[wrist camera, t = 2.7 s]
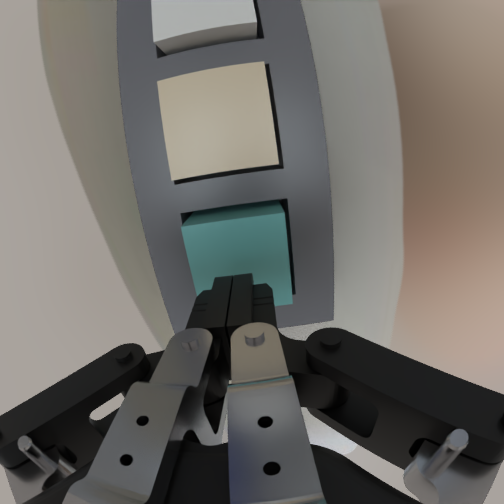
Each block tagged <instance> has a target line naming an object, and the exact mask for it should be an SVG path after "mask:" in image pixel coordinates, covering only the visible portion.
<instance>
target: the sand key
mask: <svg viewBox="0 0 504 504" xmlns="http://www.w3.org/2000/svg"><path fill="white" fill-rule="evenodd" d="M157 85H158V94H159V102H160V110H161V117H162V124H163V131H164V138H165V144H166V151H167V157H168V163H169V168H170V174H171V180H172V181H173V180H178V179H183V178H188V177H194V176H199V175H205V174H211V173H217V172H224V171H230V170H237V169H244V168H252V167H259V166H267V165H276V164H279V161H278V153H277V145H276V138H275V130H274V123H273V116H272V109H271V102H270V96H269V89H268V83H267V76H266V70H265V64H264V61H263V62H253V63H245V64H237V65H230V66H224V67H218V68H212V69H207V70H202V71H197V72H192V73H188V74H184V75H179V76H175V77H171V78H168V79H164V80H160V81H157Z"/></svg>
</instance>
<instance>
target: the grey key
mask: <svg viewBox="0 0 504 504" xmlns="http://www.w3.org/2000/svg"><path fill="white" fill-rule="evenodd" d="M151 8H152V28H153V42H154V43H155V44H156V45H157V46H158V47H159V48H160V49H161V50H162V51H163V52H164V53H165V54H166V55H167V56H168V55H171V54H175V53H179V52H183V51H188V50H192V49H197V48H202V47H207V46H212V45H218V44H224V43H230V42H237V41H245V40H254V39H256V36H257V19H256V14H255V9H254V4H253V0H151Z"/></svg>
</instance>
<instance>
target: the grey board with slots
mask: <svg viewBox="0 0 504 504" xmlns="http://www.w3.org/2000/svg"><path fill="white" fill-rule="evenodd" d="M253 4H254V9H255V14H256V19H257V36H256V39H254V40H245V41H237V42H230V43H224V44H218V45H212V46H207V47H202V48H197V49H192V50H188V51H183V52H179V53H175V54H171V55H168V56H167V55H166V54H165V53H164V52H163V51H162V50H161V49H160V48H159V47H158V46H157V45H156V44H155V43H154V42H153V28H152V8H151V0H117V53H118V71H119V84H120V95H121V105H122V114H123V122H124V129H125V136H126V143H127V149H128V156H129V161H130V167H131V173H132V178H133V183H134V188H135V193H136V198H137V203H138V207H139V212H140V216H141V220H142V225H143V229H144V233H145V237H146V241H147V245H148V248H149V252H150V256H151V260H152V263H153V267H154V270H155V274H156V277H157V281H158V284H159V287H160V290H161V294H162V297H163V300H164V303H165V306H166V309H167V312H168V315H169V318H170V321H171V324H172V327H173V330H174V333H175V334H177V333H178V332H180V331H183V330H185V328H186V325H187V322H188V319H189V317H190V314H191V312H192V308H193V306H194V302H195V299H196V297H197V294H196V290H195V286H194V282H193V278H192V274H191V270H190V266H189V261H188V257H187V253H186V248H185V244H184V239H183V235H182V230H181V226H182V225H183V224H184V223H185V221H186V220H187V219H188V218H189V217H190V216H191V214H192V213H193V212H194V211H197V210H204V209H210V208H217V207H224V206H231V205H238V204H245V203H253V202H260V201H268V200H277V199H278V200H279V202H280V204H281V206H282V208H283V211H284V213H285V222H286V232H287V242H288V253H289V264H290V275H291V287H292V300H293V304H288V305H281V306H275V313H276V321H277V328H283V327H291V326H298V325H305V324H312V323H319V322H325V321H331V320H334V249H333V223H332V205H331V190H330V177H329V166H328V156H327V146H326V138H325V129H324V122H323V114H322V107H321V100H320V94H319V88H318V82H317V76H316V70H315V65H314V59H313V54H312V49H311V44H310V40H309V35H308V31H307V26H306V22H305V18H304V14H303V9H302V6H301V2H300V0H253ZM263 61H264V64H265V70H266V76H267V83H268V89H269V96H270V102H271V109H272V116H273V123H274V130H275V138H276V145H277V153H278V161H279V164H276V165H267V166H259V167H252V168H244V169H237V170H230V171H224V172H217V173H211V174H205V175H199V176H194V177H188V178H183V179H178V180H173V181H172V180H171V174H170V168H169V163H168V157H167V151H166V144H165V138H164V131H163V124H162V117H161V110H160V102H159V94H158V85H157V81H160V80H164V79H168V78H171V77H175V76H179V75H184V74H188V73H192V72H197V71H202V70H207V69H212V68H218V67H224V66H230V65H237V64H245V63H253V62H263Z"/></svg>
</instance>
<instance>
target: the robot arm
mask: <svg viewBox="0 0 504 504" xmlns="http://www.w3.org/2000/svg"><path fill="white" fill-rule="evenodd" d="M229 380H232V384H229ZM119 393H122V395H123V396H124V398H125V399H124V401H123V402H122V404H121V406H120V407H119V408H118V409H116V410H115V411H113V412H112V413H110V414H109V415H107V416H106V417H104V418H103V419H101V420H97V421H96V420H92V419H91V418H90V417H89V416H90V414H91V412H92V411H93V410H95V409H96V408H98V407H99V406H101V405H103V404H104V403H106V402H107V401H109V400H110V399H112V398H113V397H115V396H116V395H118V394H119ZM301 407H307V409H308V411H309V412H310V414H312V415H313V416H314V417H316V418H317V419H319V420H320V421H322V422H323V423H325V424H326V425H328V426H329V427H331V428H333V429H334V430H336V431H337V432H339V433H340V434H342V435H344V436H345V437H347V438H348V439H350V440H352V441H353V442H355V443H357V444H358V445H360V446H362V447H364V448H365V449H367V450H369V451H370V452H372V453H374V454H376V455H377V456H379V457H381V458H383V459H385V460H386V461H388V462H390V463H392V464H394V465H396V466H398V467H400V468H402V469H404V470H405V471H404V477H403V479H404V484H405V486H406V488H407V489H408V490H409V491H410V492H411V493H413V494H414V495H415V496H416V497H417V498H418V499H419V500H420V502H419V501H417V500H415V499H413V498H411V497H409V496H408V495H406V494H404V493H402V492H400V491H399V490H397V489H395V488H393V487H392V486H390V485H388V484H387V483H385V482H383V481H382V480H380V479H378V478H377V477H375V476H374V475H372V474H370V473H369V472H367V471H366V470H364V469H362V468H361V467H360V466H358V465H356V464H355V463H353V462H352V461H351V460H349V459H348V458H346V457H345V456H343V455H341V454H339V453H337V452H335V451H333V450H330V449H328V448H325V447H322V446H318V445H313V444H310V442H309V438H308V434H307V430H306V426H305V422H304V419H303V415H302V411H301ZM227 410H228V442H227V443H223V444H222V435H223V430H224V425H225V419H226V414H227ZM503 460H504V395H503V394H501V393H498V392H495V391H492V390H490V389H487V388H484V387H482V386H479V385H476V384H473V383H471V382H468V381H466V380H463V379H461V378H458V377H455V376H453V375H450V374H448V373H445V372H443V371H440V370H438V369H435V368H433V367H430V366H428V365H426V364H423V363H421V362H418V361H416V360H413V359H411V358H409V357H406V356H404V355H401V354H399V353H397V352H394V351H392V350H390V349H387V348H385V347H383V346H380V345H378V344H376V343H373V342H371V341H369V340H366V339H364V338H362V337H360V336H357V335H355V334H353V333H351V332H348V331H346V330H343V329H340V328H323V329H320V330H317V331H315V332H313V333H312V334H311V335H309V337H308V338H307V340H306V341H302V340H294V339H290V338H287V337H285V336H284V335H282V334H281V333H280V332H279V330H278V328H277V321H276V313H275V305H274V298H273V290H272V288H271V287H270V286H269V285H268V284H267V283H263V284H255V285H254V281H253V275H252V273H247V274H238V275H234V276H233V275H230V276H221V277H215V278H214V282H213V286H212V289H210V290H203V291H202V292H201V293H200V294H199V295H198V296H197V297H196V299H195V302H194V306H193V308H192V312H191V314H190V317H189V319H188V322H187V325H186V328H185V330H183V331H180V332H178V333H177V334H175V335H174V336H173V337H172V338H171V339H170V341H169V343H168V345H167V347H166V349H165V350H163V351H160V352H156V353H151V354H147V355H146V353H145V351H144V349H143V348H142V347H141V346H140V345H138V344H134V343H129V344H123V345H120V346H118V347H116V348H114V349H112V350H111V351H109V352H108V353H106V354H104V355H103V356H101V357H99V358H98V359H96V360H94V361H93V362H91V363H89V364H88V365H86V366H84V367H83V368H81V369H79V370H78V371H76V372H74V373H73V374H71V375H69V376H68V377H66V378H64V379H62V380H61V381H59V382H57V383H56V384H54V385H52V386H51V387H49V388H47V389H46V390H44V391H42V392H40V393H39V394H37V395H35V396H34V397H32V398H30V399H28V400H27V401H25V402H23V403H22V404H20V405H18V406H17V407H15V408H13V409H11V410H10V411H8V412H6V413H4V414H3V415H1V416H0V464H1V465H2V466H3V467H4V469H5V472H6V475H7V478H8V482H9V484H10V487H11V490H12V493H13V496H14V498H15V501H16V503H17V504H483V502H484V500H485V498H486V496H487V494H488V492H489V490H490V488H491V486H492V484H493V481H494V479H495V477H496V475H497V473H498V470H499V468H500V465H501V463H502V462H503Z"/></svg>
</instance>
